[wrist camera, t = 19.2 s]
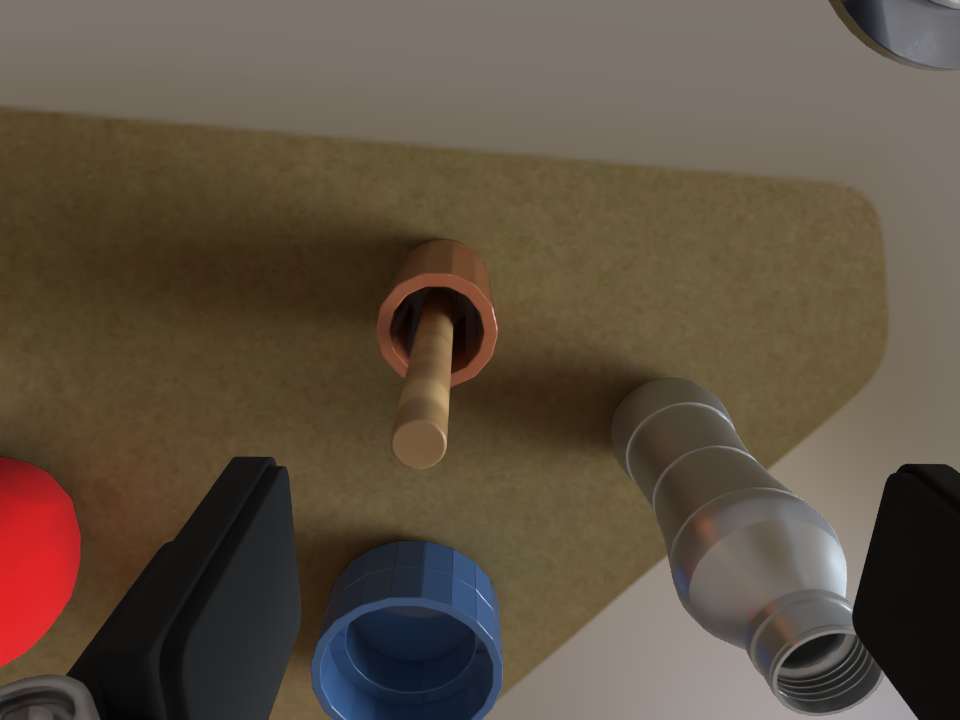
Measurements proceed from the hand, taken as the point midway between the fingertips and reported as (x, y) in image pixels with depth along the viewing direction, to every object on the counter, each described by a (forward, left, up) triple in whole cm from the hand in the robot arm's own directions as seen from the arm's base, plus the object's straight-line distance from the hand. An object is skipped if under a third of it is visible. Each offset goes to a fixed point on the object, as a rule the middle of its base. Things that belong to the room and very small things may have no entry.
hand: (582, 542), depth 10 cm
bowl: (+24, -5, -28) cm, 37 cm away
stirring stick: (+2, -3, -27) cm, 27 cm away
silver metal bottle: (+10, +10, -28) cm, 31 cm away
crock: (+2, -3, -28) cm, 28 cm away
